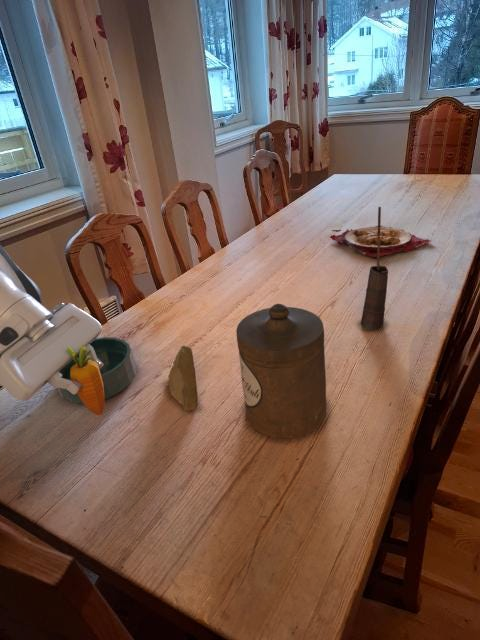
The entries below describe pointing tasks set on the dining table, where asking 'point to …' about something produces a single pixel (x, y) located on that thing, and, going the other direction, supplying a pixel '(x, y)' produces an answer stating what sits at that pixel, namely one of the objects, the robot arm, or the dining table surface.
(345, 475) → the dining table surface
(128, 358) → the bowl
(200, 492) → the dining table surface
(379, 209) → the butter churn
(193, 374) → the rock
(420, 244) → the plate with food
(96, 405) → the carrot
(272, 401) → the wooden container
